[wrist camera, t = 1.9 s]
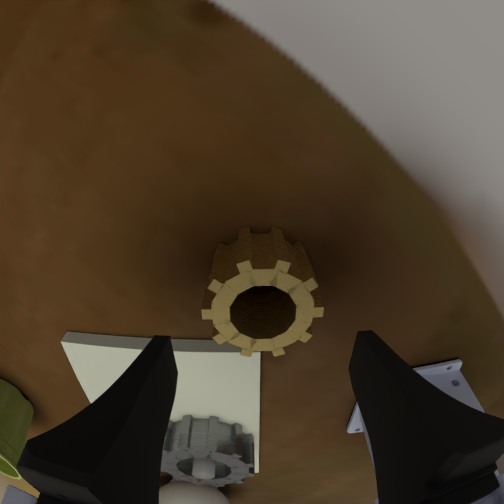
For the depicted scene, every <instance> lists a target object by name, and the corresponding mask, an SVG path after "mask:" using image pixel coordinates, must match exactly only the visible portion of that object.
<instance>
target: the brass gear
mask: <svg viewBox="0 0 504 504" xmlns="http://www.w3.org/2000/svg"><path fill="white" fill-rule="evenodd" d="M253 286H275V287H277V288H278V289H276V290H274V291H272V292H270V293H268V294H251V293H249V292H247V291H245V290H247V289H249V288H251V287H253ZM317 287H318V283H317V280H316V278H315V275H314V272H313V270H312V267H311V264H310V262H309V259H308V256H307V254H306V251H305V248H304V247H303V246H302V244H301V243H300V241H297V242H296V243H294V244H293V245H292V244H291V243H289V242H287V241H285V240H284V236H283V232H282V229H281V228H278V227H275V226H271V228H270V231H269V233H251V230H250V228H249V226H247V227H244V228H240V229H239V232H238V240H236V241H234V242H232V243H230V244H229V245H228V246H227V245H226V244H224V243H223V242H220V244H219V245H218V246H217V248H216V249H215V254H214V258H213V263H212V268H210V271H209V275H208V280H207V284H206V289H205V294H204V299H203V303H202V308H201V311H202V319H213V324H214V329H213V336H212V338H213V339H214V340H215V341H216V342H217V343H218V344H219V345H220V344H222V343H224V342H226V341H227V342H228V343H231V344H233V345H236V346H238V347H240V355H242V356H246V357H251V355H252V353H253V351H272V353H273V355H274V357H276V356H280V355H283V354H285V350H284V347H285V346H287V345H289V344H291V343H293V342H296V341H297V340H298V339H299V340H300V341H302V342H304V343H306V342H307V341H308V340H309V339H310V338H311V337H312V336H313V335H312V331H311V327H310V325H311V323H312V319H313V317H323V311H324V306H323V303H322V300H321V297H320V294H319V291H318V288H317Z"/></svg>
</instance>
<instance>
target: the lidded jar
mask: <svg viewBox="0 0 504 504" xmlns="http://www.w3.org/2000/svg"><path fill="white" fill-rule="evenodd" d="M159 504H230V502H229V501H228V499H227V498H226V496H225V495H224V494H223V493H222V492H220V491H219V490H218V487H217V486H216V485H206V484H202V486H198V485H194V483H192V482H188V481H185V480H180V481H178V480H176V479H172V480H171V481H170V482H169V483H168V484H166V485H164V486H162V487H161V488H159Z"/></svg>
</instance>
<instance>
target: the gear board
mask: <svg viewBox="0 0 504 504" xmlns="http://www.w3.org/2000/svg"><path fill="white" fill-rule="evenodd" d="M151 339H152V338H141V337H125V336H111V335H99V334H88V333H78V332H68V331H67V333H66V334H65V336H64V337H63V339H62V340H61V343H62V346H63V348H64V350H65V352H66V355H67V357H68V359H69V361H70V363H71V365H72V368H73V370H74V372H75V374H76V376H77V378H78V380H79V382H80V384H81V386H82V388H83V390H84V392H85V393H86V395H87V397H88V399H89V401H90V403H92V402H94V401H95V400H96V399H97V398H98V397H99V396H101V395H102V394H103V393H104V392H105V391H106V390H107V389H108V388H109V387H110V386H111V385H112V384H113V383H114V382H115V381H116V380H117V379H118V378H119V377H120V376H121V375H122V374H123V373H124V372H125V370H126V369H127V368H128V367H129V366H130V365H131V364H132V362H133V361H134V360H135V359H136V358H137V356H138V355H139V354H140V353H141V352H142V350H143V349H144V348H145V347H146V345H147V344H148V343H149V342H150V340H151ZM171 343H172V347H173V352H174V356H175V361H176V365H177V370H178V379H177V388H176V395H175V399H174V404H173V408H172V412H171V416H170V420H171V421H173V422H176V421H180V420H182V418H183V415H192V417H193V418H201V419H209V417H210V416H216V417H219V421H221V422H225V423H228V424H231V425H232V424H234V423H238V424H240V425H242V431H243V432H244V433H245V434H251V433H252V435H253V436H254V455H255V473H259V416H260V351H253V353H252V355H251V357H246V356H242V355H240V347H238V346H236V345H233V344H231V343H228V342H227V341H226V342H224V343H222V344H220V345H219V344H218V343H217V342H216V341H215V340H190V339H171ZM215 463H216V460H212V459H208V458H194V461H193V470H192V475H193V476H194V477H196V478H199V479H213V478H214V477H215Z"/></svg>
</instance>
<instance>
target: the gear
mask: <svg viewBox="0 0 504 504" xmlns="http://www.w3.org/2000/svg"><path fill="white" fill-rule="evenodd" d="M194 458H208V459H212V460H216V463H215V477H214V478H213V479H199V478H196V477H194V476H193V475H192V470H193V461H194ZM161 472H167V473H169V474H171V475H173V477H172V478H173V479H176V480H178V481H180V480H185V481H188V482H192V483H194V485H198V486H202V484H206V485H216V486H217V487H224V486H225V484H229V483H237V484H240V483H243V482H244V478H245V477H246V476H249V477H253V476H254V474H255V455H254V436H253V435H252V433H251V434H245V433H244V432H243V431H242V425H240V424H238V423H234V424H232V425H231V424H228V423H225V422H221V421H219V417H216V416H210V417H209V419H201V418H193V417H192V415H183V418H182V420H180V421H176V422H173V421H171V420H169V424H168V428H167V432H166V436H165V440H164V446H163V452H162V462H161Z"/></svg>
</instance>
